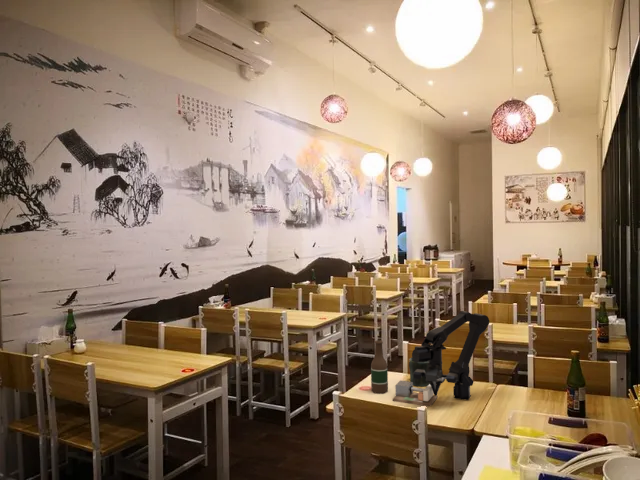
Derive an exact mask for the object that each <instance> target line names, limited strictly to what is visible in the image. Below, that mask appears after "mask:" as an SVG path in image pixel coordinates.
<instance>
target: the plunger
mask: <svg viewBox="0 0 640 480" xmlns="http://www.w3.org/2000/svg"><path fill="white" fill-rule="evenodd" d="M411 391H413V392H416V393H419V392H423V401H429V400H430V398H431V397H432V396H433V395H434V393H433V390H432V387H431V385H430V384H429V385H428V386H425V387H424V388H423V387H416V386H415V387H414V386H413V387H412V388H411Z"/></svg>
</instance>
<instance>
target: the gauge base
mask: <svg viewBox="0 0 640 480" xmlns="http://www.w3.org/2000/svg"><path fill="white" fill-rule="evenodd" d="M418 393H419V392H415V391H413V394H410V397H409V398H408V397H400V396H396V395H395V396H394V397H393V398H392V401H393V402H398V403H405V404H413V405H417V406H419V405H420V406H424V405H425V407H432V405H433V404H434V403H435V402H436V401H437V400H438V395H437V396H435V395H433V396H432V397H431V398H430V400H429V401H422V400H418Z"/></svg>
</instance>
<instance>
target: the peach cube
mask: <svg viewBox="0 0 640 480" xmlns="http://www.w3.org/2000/svg"><path fill="white" fill-rule="evenodd" d="M417 393H418V400H422V401H423V392H417Z"/></svg>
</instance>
